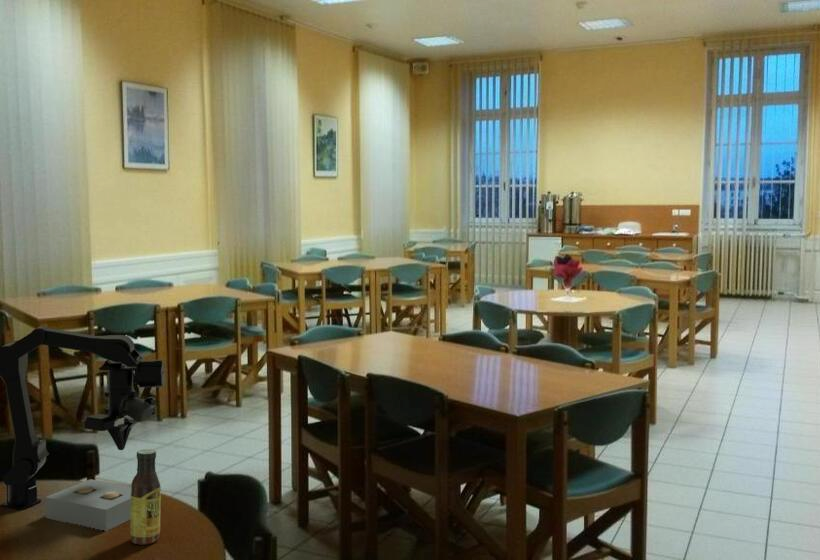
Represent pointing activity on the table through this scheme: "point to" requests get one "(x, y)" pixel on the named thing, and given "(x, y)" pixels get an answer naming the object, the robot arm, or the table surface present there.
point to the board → (91, 505)
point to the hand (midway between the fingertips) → (121, 449)
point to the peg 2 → (111, 495)
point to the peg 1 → (84, 490)
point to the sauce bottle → (145, 500)
